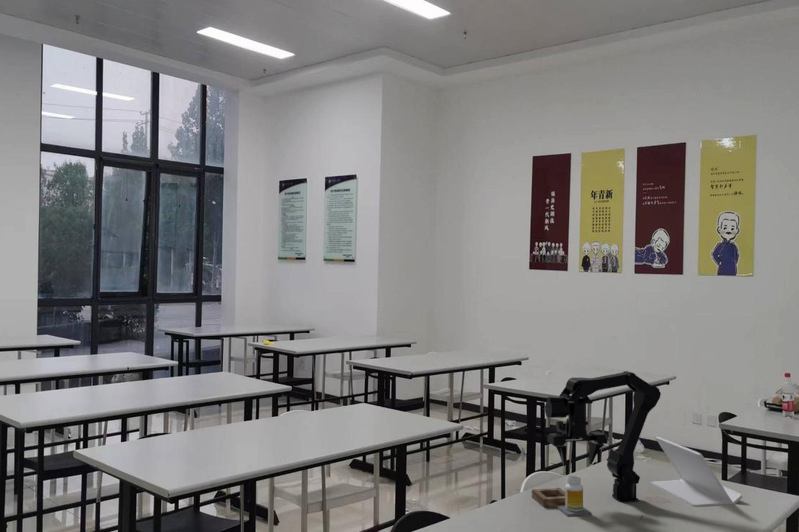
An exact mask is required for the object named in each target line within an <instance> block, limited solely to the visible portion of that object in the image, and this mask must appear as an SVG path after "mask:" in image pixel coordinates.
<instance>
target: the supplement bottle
mask: <svg viewBox="0 0 799 532" xmlns="http://www.w3.org/2000/svg"><path fill="white" fill-rule="evenodd" d="M581 482H582V479H581V477H579V476H575V475H574V476H572V475H571V476H567V483H566V484H565V488H564V489H565V490H564V491H565V507H566V509H567V510H570V511H574V512H578V511H582V510H583V507H584V487H583V485H582V484H581Z"/></svg>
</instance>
